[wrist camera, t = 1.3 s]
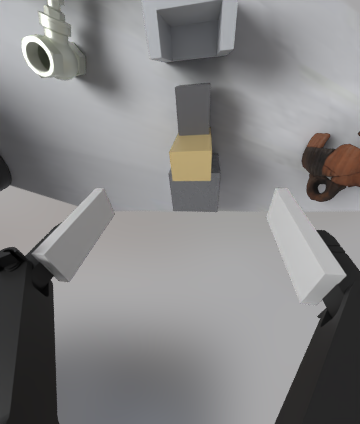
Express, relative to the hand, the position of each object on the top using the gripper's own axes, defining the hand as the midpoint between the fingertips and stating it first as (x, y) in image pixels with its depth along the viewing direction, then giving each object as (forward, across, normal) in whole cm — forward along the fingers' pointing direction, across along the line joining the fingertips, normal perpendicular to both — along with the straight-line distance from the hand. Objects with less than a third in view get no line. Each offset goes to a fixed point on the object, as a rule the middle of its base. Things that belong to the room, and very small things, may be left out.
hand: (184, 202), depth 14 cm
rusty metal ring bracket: (+19, +21, -4) cm, 29 cm away
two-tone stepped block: (+17, 0, -2) cm, 17 cm away
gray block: (+19, 0, -7) cm, 20 cm away
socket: (+19, 0, +12) cm, 22 cm away
